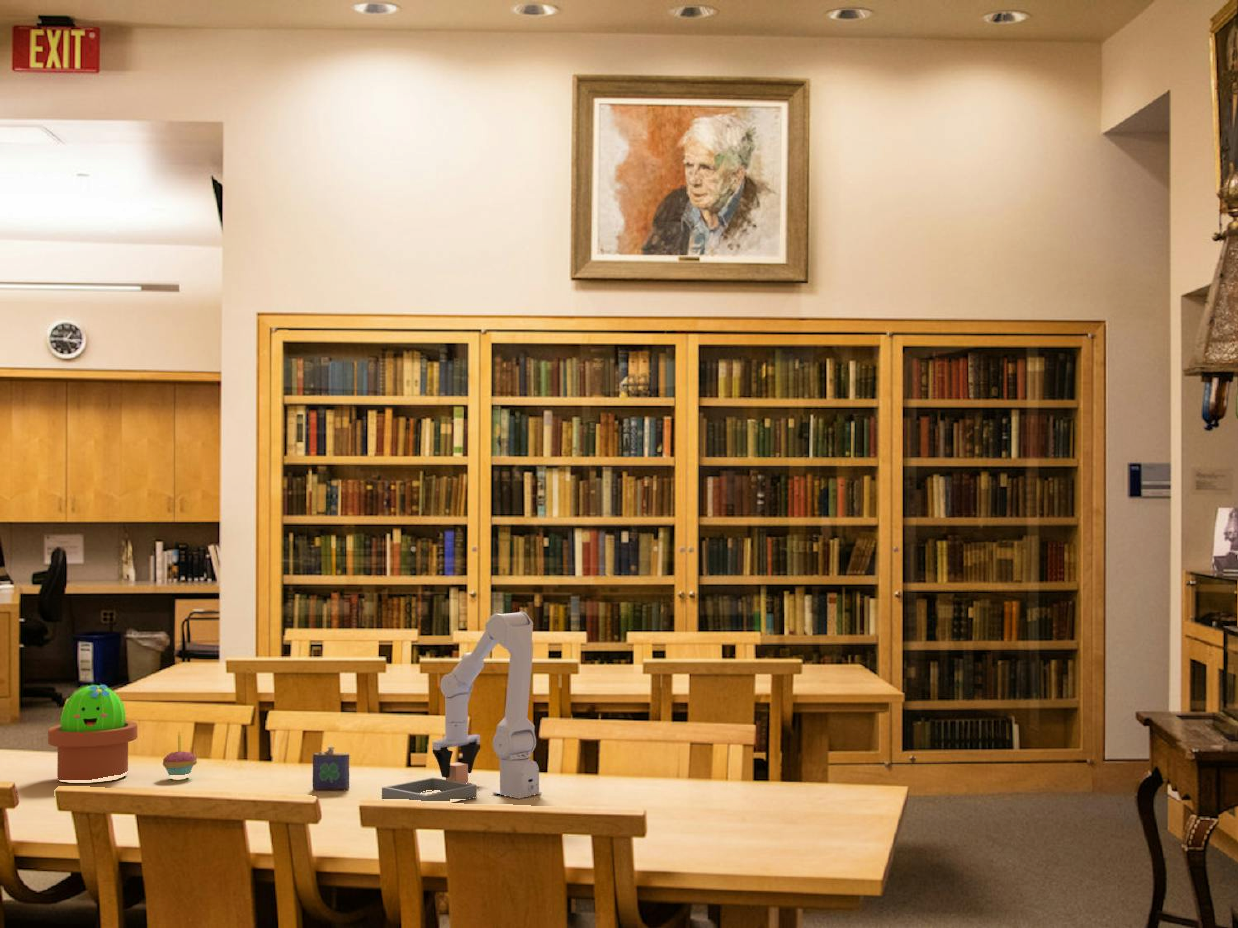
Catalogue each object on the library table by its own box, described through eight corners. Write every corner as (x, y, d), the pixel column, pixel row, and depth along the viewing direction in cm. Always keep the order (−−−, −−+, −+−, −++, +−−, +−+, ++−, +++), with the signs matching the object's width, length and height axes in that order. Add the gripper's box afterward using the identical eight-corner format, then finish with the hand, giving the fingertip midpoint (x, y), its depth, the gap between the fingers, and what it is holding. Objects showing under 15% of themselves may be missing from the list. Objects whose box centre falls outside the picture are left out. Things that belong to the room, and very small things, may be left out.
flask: (350, 788, 345) (350, 745, 345) (347, 790, 342) (347, 747, 342) (313, 788, 345) (313, 745, 345) (310, 791, 342) (310, 747, 342)
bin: (476, 797, 332) (476, 785, 332) (425, 808, 320) (425, 795, 320) (432, 789, 342) (432, 777, 342) (381, 799, 330) (381, 787, 330)
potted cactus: (53, 773, 369) (54, 679, 370) (140, 768, 375) (140, 676, 376) (42, 788, 348) (42, 689, 349) (133, 783, 354) (134, 685, 355)
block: (468, 783, 350) (467, 763, 350) (456, 786, 347) (456, 766, 347) (457, 781, 353) (457, 762, 353) (445, 784, 350) (445, 764, 350)
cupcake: (161, 777, 362) (161, 731, 362) (194, 774, 365) (194, 729, 366) (164, 782, 354) (165, 736, 354) (199, 780, 358) (199, 733, 358)
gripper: (467, 716, 358) (467, 768, 358) (424, 722, 347) (424, 776, 347) (485, 718, 354) (485, 771, 353) (443, 725, 343) (443, 780, 342)
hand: (456, 774), depth 350 cm, fingers open, 7 cm apart
